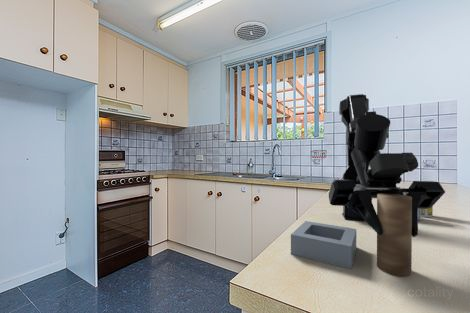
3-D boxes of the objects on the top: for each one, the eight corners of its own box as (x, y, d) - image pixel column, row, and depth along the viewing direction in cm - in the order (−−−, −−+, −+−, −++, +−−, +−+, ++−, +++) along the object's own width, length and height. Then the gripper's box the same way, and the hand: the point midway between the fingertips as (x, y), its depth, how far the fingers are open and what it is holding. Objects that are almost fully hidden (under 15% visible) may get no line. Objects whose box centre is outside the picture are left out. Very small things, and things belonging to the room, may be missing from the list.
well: (351, 268, 39) (351, 246, 39) (290, 253, 45) (290, 234, 45) (356, 247, 49) (356, 228, 49) (305, 237, 55) (305, 220, 55)
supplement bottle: (416, 216, 72) (416, 187, 72) (408, 212, 77) (408, 185, 77) (436, 218, 71) (436, 188, 71) (427, 214, 76) (427, 185, 76)
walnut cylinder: (381, 273, 38) (382, 197, 38) (373, 260, 43) (373, 192, 42) (417, 278, 36) (417, 199, 36) (404, 264, 41) (404, 194, 41)
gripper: (332, 139, 45) (350, 207, 34) (438, 138, 42) (495, 212, 31) (323, 175, 53) (336, 239, 42) (411, 176, 49) (450, 246, 39)
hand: (398, 234), depth 38 cm, fingers closed on walnut cylinder, 5 cm apart
